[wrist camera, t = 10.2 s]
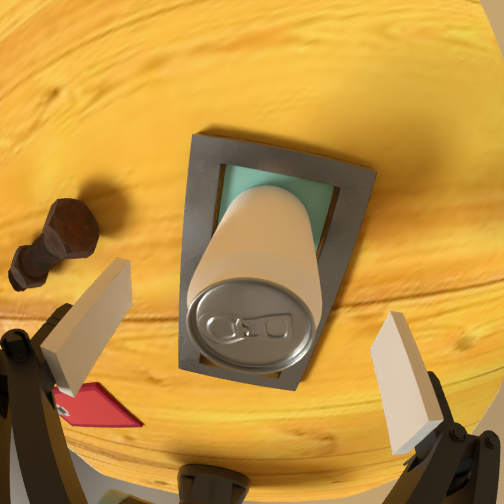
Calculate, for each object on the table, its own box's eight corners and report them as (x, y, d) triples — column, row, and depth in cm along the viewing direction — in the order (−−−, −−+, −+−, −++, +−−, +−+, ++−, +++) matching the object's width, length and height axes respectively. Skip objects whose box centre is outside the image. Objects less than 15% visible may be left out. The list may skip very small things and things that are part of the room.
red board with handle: (12, 376, 45) (58, 420, 51) (6, 385, 43) (54, 429, 48) (81, 362, 37) (144, 420, 43) (73, 375, 34) (139, 433, 40)
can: (218, 188, 22) (158, 273, 12) (306, 179, 21) (326, 263, 11) (232, 264, 25) (196, 378, 15) (311, 259, 24) (324, 377, 14)
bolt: (32, 258, 31) (96, 201, 26) (40, 297, 30) (107, 251, 25) (-6, 260, 25) (46, 195, 20) (1, 302, 25) (55, 252, 20)
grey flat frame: (295, 382, 32) (295, 391, 31) (181, 360, 32) (178, 368, 31) (372, 168, 21) (376, 172, 19) (197, 132, 21) (192, 134, 20)
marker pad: (308, 276, 25) (308, 278, 25) (214, 258, 25) (213, 259, 25) (334, 185, 21) (334, 186, 21) (226, 163, 22) (226, 164, 21)
